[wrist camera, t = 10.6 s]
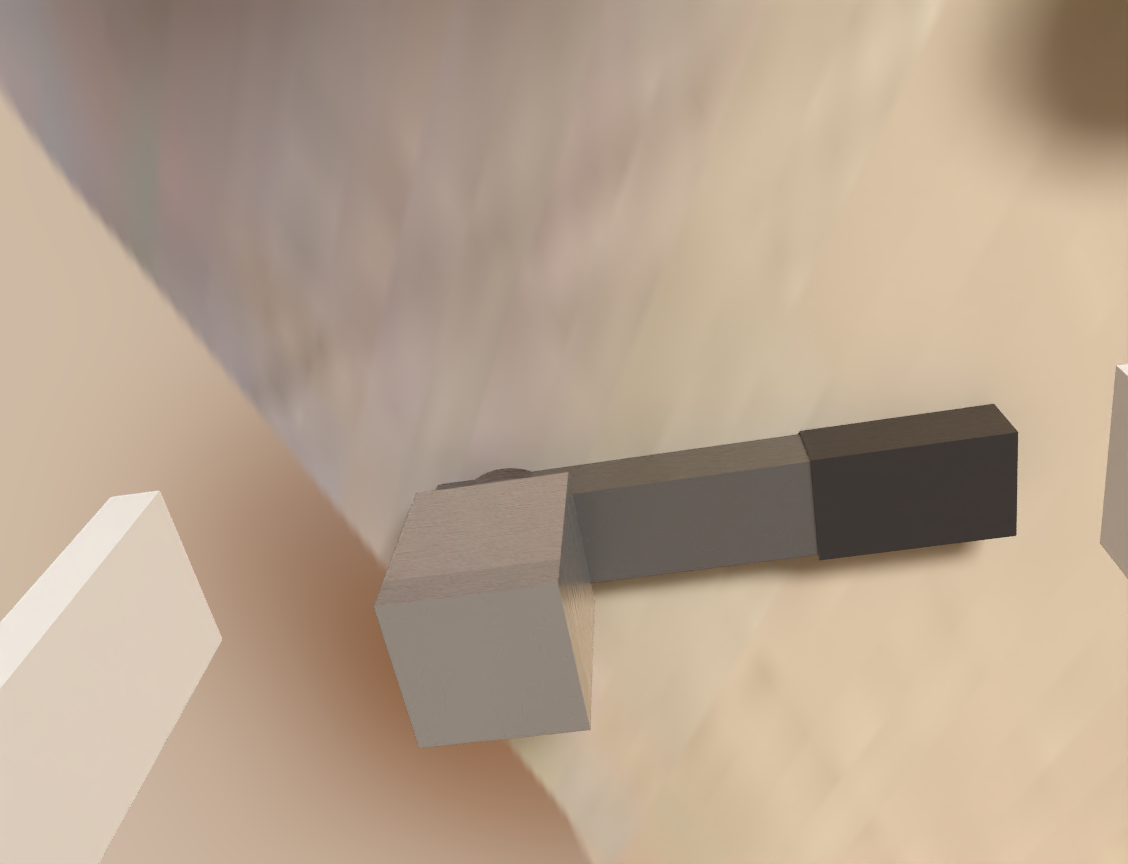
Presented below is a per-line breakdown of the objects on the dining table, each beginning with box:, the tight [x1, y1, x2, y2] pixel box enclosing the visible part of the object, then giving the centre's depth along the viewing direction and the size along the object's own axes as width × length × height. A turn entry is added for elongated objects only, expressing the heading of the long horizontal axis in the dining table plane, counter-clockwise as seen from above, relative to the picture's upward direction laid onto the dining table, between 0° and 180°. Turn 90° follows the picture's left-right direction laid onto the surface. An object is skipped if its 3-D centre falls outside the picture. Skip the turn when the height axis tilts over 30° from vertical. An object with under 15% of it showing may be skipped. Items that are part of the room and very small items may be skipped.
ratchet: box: [436, 404, 1018, 583], centre depth 40 cm, size 24×5×6 cm, turn 100°
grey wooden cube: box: [374, 472, 595, 748], centre depth 38 cm, size 6×6×8 cm
